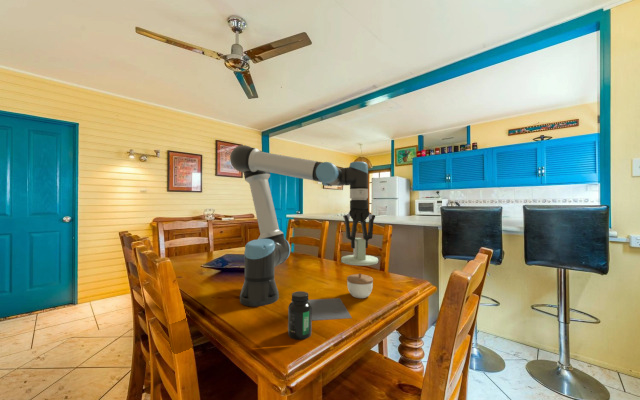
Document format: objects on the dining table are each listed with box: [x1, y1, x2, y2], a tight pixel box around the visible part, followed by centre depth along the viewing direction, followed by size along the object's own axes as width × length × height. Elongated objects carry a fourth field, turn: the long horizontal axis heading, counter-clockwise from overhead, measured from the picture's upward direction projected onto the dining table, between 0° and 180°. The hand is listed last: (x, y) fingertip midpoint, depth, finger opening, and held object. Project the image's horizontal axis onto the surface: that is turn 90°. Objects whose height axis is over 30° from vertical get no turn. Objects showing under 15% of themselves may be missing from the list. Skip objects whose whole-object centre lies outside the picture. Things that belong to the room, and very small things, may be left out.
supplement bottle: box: [287, 290, 313, 341], centre depth 76 cm, size 7×7×12 cm
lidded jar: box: [346, 273, 374, 299], centre depth 107 cm, size 11×11×9 cm
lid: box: [341, 237, 379, 267], centre depth 107 cm, size 15×15×9 cm
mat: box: [308, 297, 353, 321], centre depth 94 cm, size 18×18×1 cm
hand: (359, 256), depth 107 cm, fingers closed on lid, 3 cm apart
